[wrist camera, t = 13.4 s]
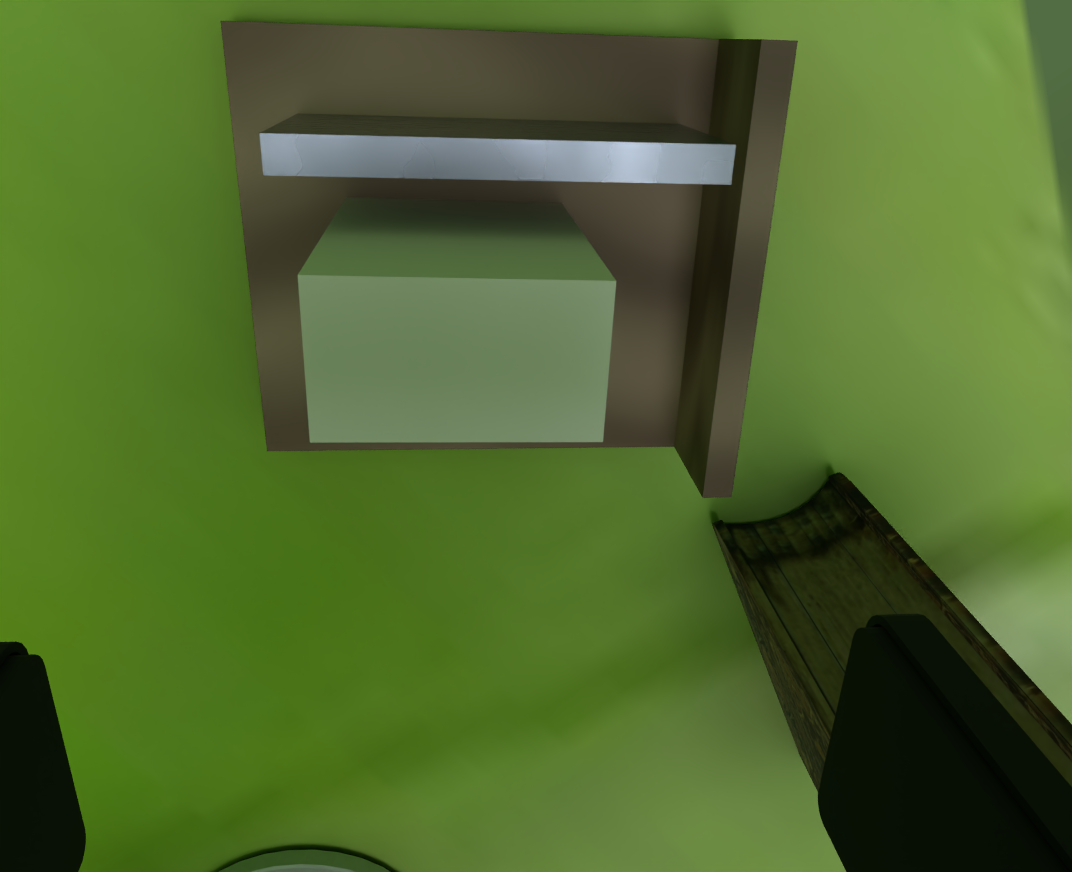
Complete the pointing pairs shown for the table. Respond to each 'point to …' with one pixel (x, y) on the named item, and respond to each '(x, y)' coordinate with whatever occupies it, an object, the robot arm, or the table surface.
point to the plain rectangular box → (455, 324)
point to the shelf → (529, 193)
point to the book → (858, 615)
